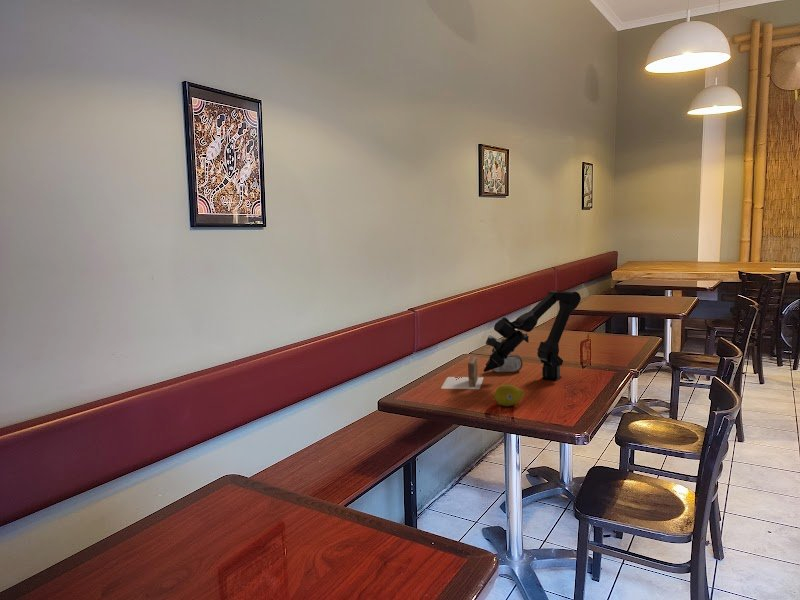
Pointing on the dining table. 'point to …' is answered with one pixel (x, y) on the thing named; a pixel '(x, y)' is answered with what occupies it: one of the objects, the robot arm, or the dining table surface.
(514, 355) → the tin
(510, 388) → the lemon
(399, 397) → the dining table surface
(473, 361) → the board
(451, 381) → the mat
